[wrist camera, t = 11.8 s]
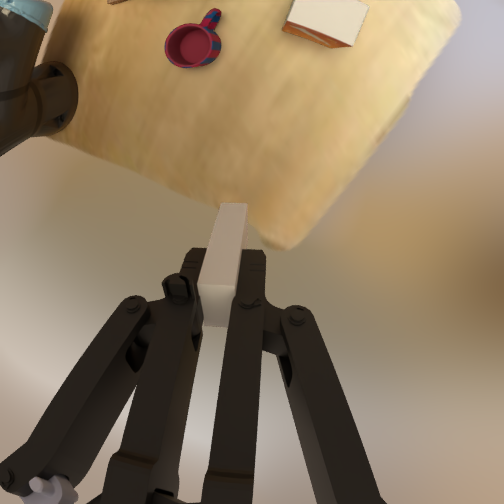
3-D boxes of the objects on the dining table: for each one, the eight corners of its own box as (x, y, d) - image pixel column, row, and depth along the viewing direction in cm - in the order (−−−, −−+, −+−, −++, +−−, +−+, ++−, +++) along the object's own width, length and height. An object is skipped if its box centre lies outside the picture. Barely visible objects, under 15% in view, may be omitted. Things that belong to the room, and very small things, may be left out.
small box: (280, 31, 34) (284, 20, 23) (293, -2, 30) (302, -24, 20) (331, 49, 35) (354, 47, 25) (344, 17, 31) (371, 5, 21)
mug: (170, 52, 36) (155, 52, 31) (210, 5, 31) (200, -3, 26) (203, 73, 39) (192, 76, 33) (244, 27, 34) (239, 22, 28)
